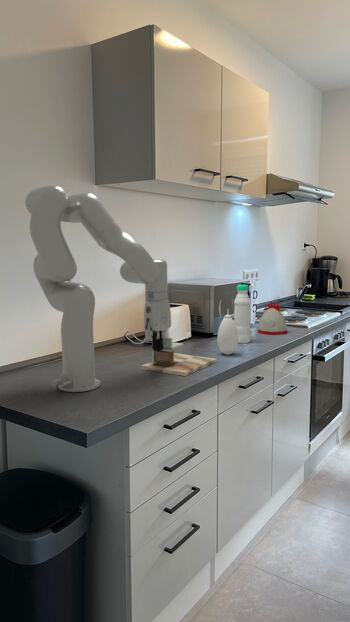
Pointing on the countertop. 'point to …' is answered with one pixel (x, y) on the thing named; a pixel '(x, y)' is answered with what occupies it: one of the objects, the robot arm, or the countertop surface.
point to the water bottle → (242, 314)
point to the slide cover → (166, 347)
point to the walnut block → (164, 358)
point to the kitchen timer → (272, 321)
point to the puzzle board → (182, 365)
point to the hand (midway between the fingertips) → (157, 349)
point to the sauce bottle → (227, 335)
